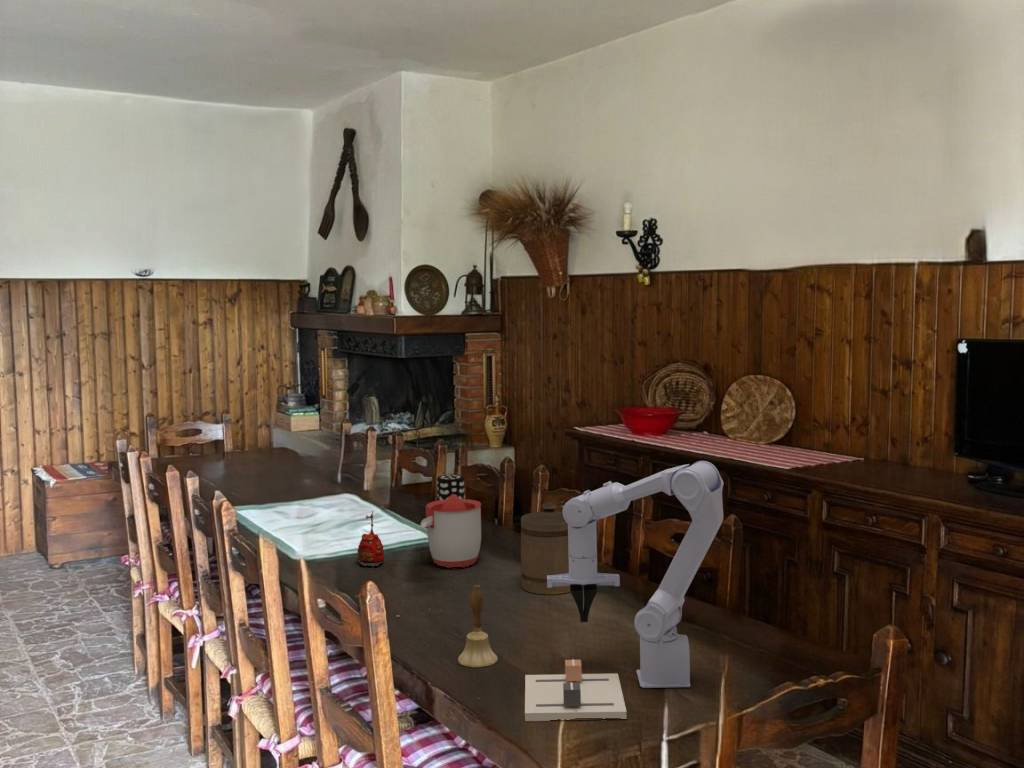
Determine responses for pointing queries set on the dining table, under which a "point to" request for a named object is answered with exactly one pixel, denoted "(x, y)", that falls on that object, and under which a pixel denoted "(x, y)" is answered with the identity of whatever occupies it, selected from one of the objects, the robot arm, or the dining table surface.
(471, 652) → the hand bell
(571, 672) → the fader terracotta
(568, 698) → the fader charcoal
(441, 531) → the citrus juicer
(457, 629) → the dining table surface
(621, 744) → the dining table surface
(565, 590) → the wooden container
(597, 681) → the console
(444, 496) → the spotted tube
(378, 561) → the red clay folk toy
